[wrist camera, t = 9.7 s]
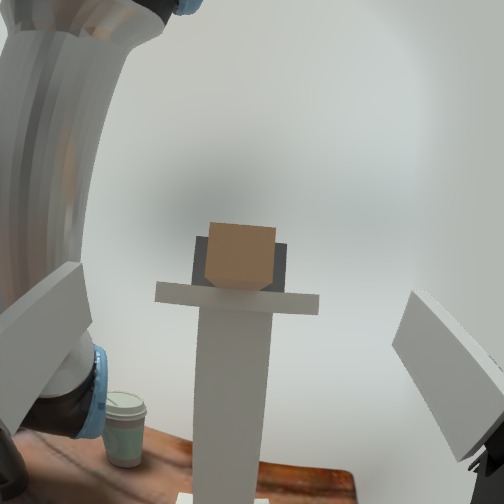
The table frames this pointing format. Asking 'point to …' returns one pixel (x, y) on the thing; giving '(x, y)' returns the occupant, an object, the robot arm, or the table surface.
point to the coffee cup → (124, 428)
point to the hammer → (240, 258)
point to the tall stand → (230, 384)
